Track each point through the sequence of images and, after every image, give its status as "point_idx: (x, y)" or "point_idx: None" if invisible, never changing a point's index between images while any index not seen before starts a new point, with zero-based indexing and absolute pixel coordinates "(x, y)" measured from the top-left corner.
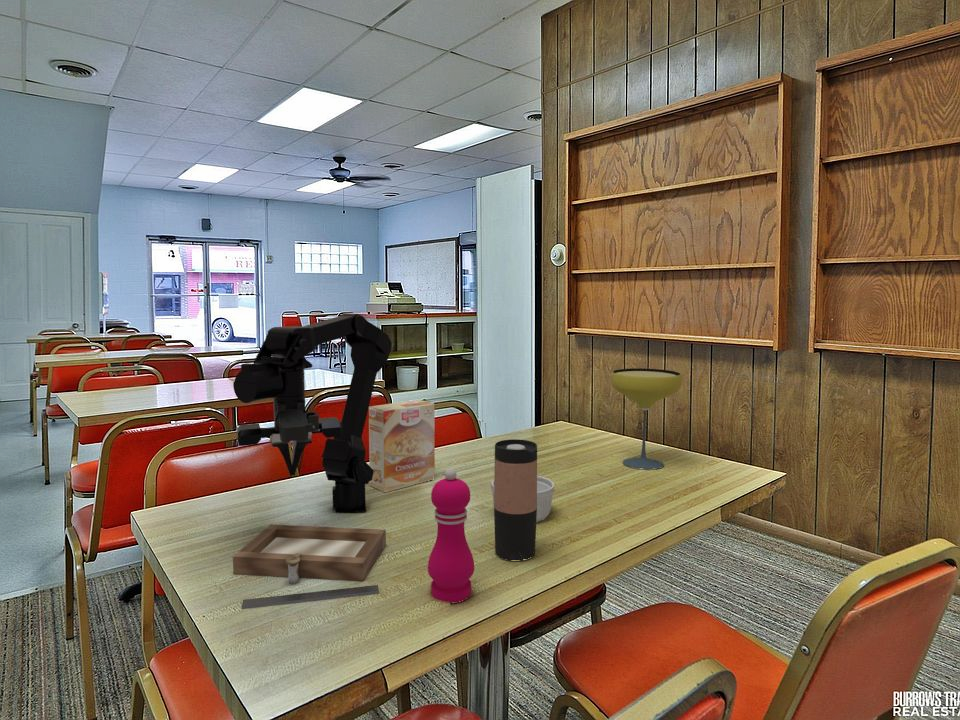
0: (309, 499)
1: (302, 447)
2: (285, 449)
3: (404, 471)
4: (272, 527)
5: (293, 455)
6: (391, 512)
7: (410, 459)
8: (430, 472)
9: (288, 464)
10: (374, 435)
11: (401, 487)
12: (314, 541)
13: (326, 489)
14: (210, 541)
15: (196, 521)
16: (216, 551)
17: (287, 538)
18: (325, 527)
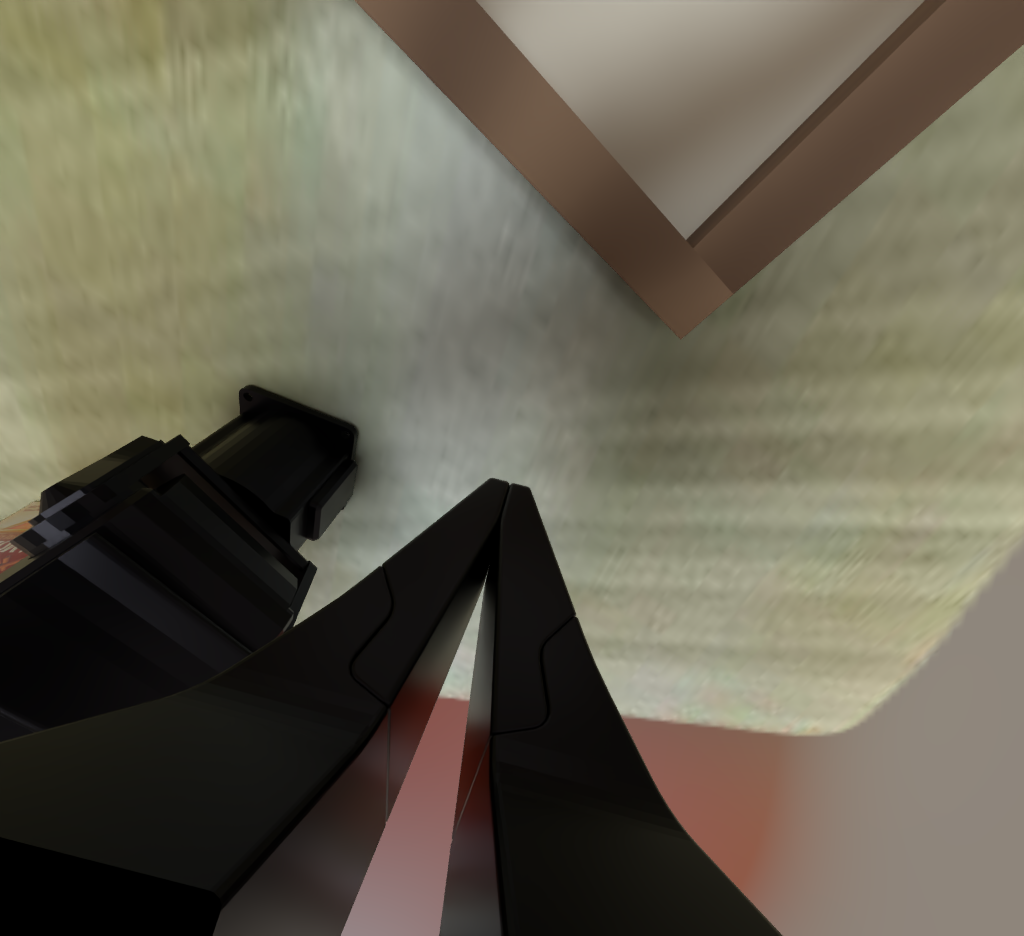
0: None
1: (187, 718)
2: (570, 813)
3: None
4: (696, 287)
5: (435, 658)
6: (150, 323)
7: (1, 566)
8: (14, 519)
9: (535, 562)
10: None
11: None
12: (537, 7)
13: None
14: (847, 465)
15: (767, 624)
16: (906, 354)
17: (647, 181)
18: (435, 68)
